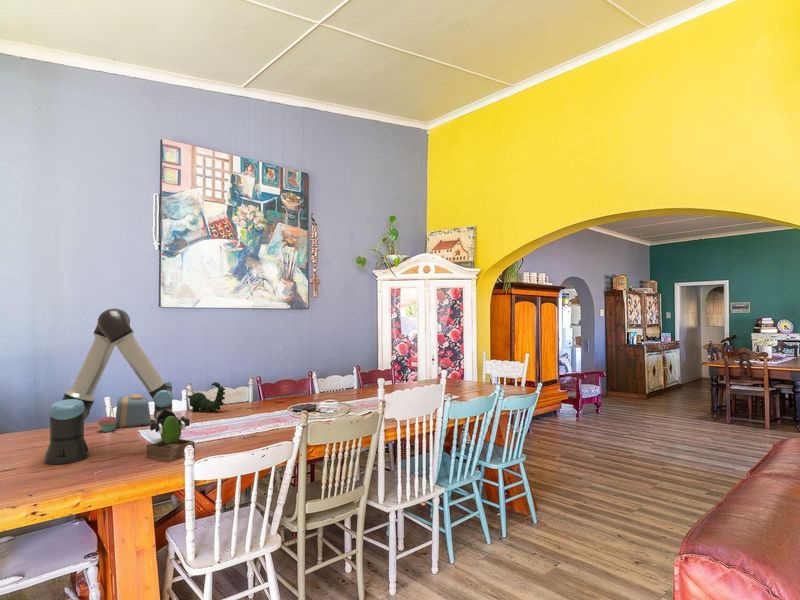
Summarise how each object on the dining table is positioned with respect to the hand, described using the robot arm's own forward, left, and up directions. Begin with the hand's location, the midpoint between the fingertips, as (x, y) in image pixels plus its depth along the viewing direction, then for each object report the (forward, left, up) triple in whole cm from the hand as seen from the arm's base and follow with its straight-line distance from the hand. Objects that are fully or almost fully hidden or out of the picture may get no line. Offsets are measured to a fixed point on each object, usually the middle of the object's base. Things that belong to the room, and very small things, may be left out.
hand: (172, 428), depth 204 cm
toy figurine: (+70, +64, -12) cm, 96 cm away
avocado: (+2, +4, -8) cm, 9 cm away
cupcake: (+15, +70, -12) cm, 73 cm away
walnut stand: (+2, +4, -12) cm, 13 cm away
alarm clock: (+30, +72, -12) cm, 79 cm away
